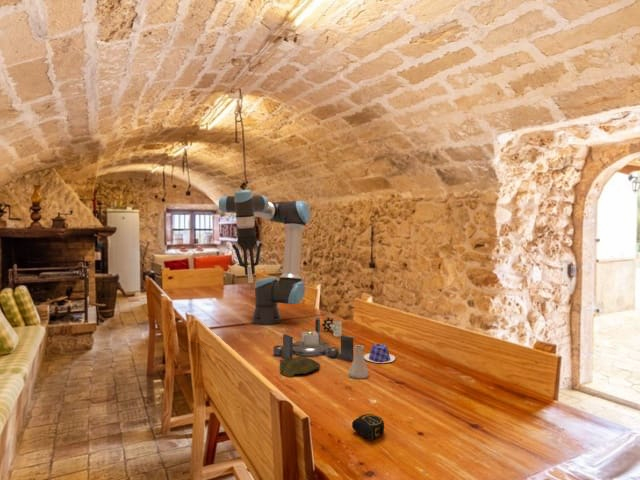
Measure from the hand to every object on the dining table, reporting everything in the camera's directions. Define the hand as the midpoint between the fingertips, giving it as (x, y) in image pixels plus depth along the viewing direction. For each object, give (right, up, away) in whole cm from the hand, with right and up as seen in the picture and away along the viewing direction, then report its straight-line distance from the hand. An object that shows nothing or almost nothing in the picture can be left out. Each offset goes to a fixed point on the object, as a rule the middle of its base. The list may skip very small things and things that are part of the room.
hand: (250, 282), depth 172 cm
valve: (+36, -27, +18) cm, 48 cm away
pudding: (+52, -28, -17) cm, 62 cm away
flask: (+43, -29, -34) cm, 62 cm away
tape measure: (+42, -30, -73) cm, 90 cm away
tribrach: (+27, -27, -5) cm, 38 cm away
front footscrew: (+15, -28, -15) cm, 35 cm away
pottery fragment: (+21, -29, -28) cm, 45 cm away
